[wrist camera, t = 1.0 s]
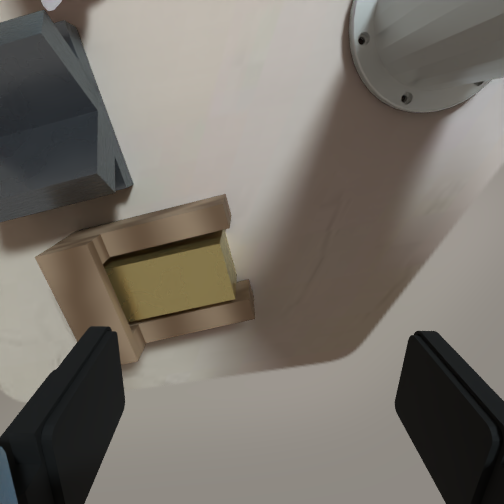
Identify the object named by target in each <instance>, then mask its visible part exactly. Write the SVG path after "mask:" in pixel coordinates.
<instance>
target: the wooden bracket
mask: <svg viewBox="0 0 504 504" xmlns="http://www.w3.org/2000/svg"><path fill="white" fill-rule="evenodd" d="M230 221H231V212H230V209H229V205H228V201H227V198H226V194H224V195H220V196H216V197H212V198H208V199H204V200H200V201H196V202H192V203H188V204H184V205H180V206H176V207H172V208H168V209H164V210H160V211H156V212H152V213H148V214H144V215H140V216H136V217H132V218H128V219H124V220H120V221H116V222H112V223H108V224H104V225H100V226H96V227H92V228H88V229H84V230H80V231H76V232H75V233H73V234H71V235H70V236H68V237H67V238H65V239H63V240H62V241H60V242H58V243H57V244H55V245H54V246H52V247H50V248H49V249H47V250H46V251H44V252H42V253H41V254H39V255H38V256H36V257H35V259H36V261H37V263H38V264H39V266H40V268H41V270H42V272H43V274H44V276H45V278H46V280H47V282H48V284H49V286H50V288H51V290H52V292H53V294H54V296H55V298H56V300H57V302H58V304H59V306H60V308H61V310H62V312H63V314H64V316H65V318H66V320H67V322H68V324H69V326H70V328H71V330H72V332H73V334H74V336H75V338H76V340H77V342H78V341H79V340H80V338H81V337H82V336H83V334H84V333H85V332H86V331H87V329H88V328H89V327H91V326H109V327H111V329H112V331H116V332H117V335H118V343H119V352H120V361H121V365H123V364H128V363H132V362H137V361H138V360H139V358H140V356H141V353H142V351H143V349H144V347H145V345H146V343H149V342H153V341H158V340H162V339H167V338H171V337H176V336H180V335H185V334H189V333H194V332H198V331H203V330H207V329H211V328H216V327H220V326H225V325H229V324H234V323H238V322H243V321H247V320H252V319H255V311H254V296H253V293H252V289H251V285H250V282H249V279H248V280H244V281H239V282H236V297H235V299H234V300H229V301H224V302H220V303H215V304H210V305H206V306H201V307H196V308H192V309H187V310H183V311H178V312H173V313H169V314H164V315H159V316H155V317H150V318H146V319H141V320H136V321H132V322H127V319H126V317H125V315H124V312H123V310H122V308H121V305H120V303H119V301H118V298H117V296H116V294H115V291H114V289H113V287H112V285H111V282H110V280H109V278H108V275H107V273H106V271H105V268H104V266H103V263H104V262H105V261H106V260H107V259H109V258H110V257H112V256H117V255H121V254H125V253H129V252H133V251H137V250H141V249H145V248H149V247H154V246H158V245H162V244H166V243H170V242H174V241H178V240H182V239H186V238H191V237H195V236H199V235H203V234H207V233H211V232H215V231H219V230H223V229H228V228H230Z"/></svg>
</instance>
